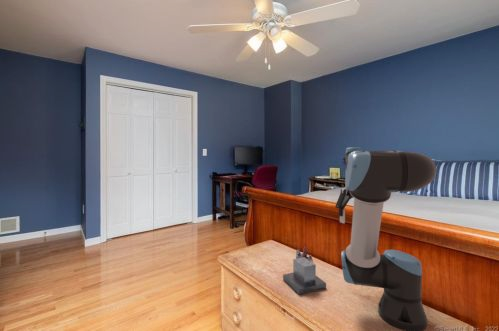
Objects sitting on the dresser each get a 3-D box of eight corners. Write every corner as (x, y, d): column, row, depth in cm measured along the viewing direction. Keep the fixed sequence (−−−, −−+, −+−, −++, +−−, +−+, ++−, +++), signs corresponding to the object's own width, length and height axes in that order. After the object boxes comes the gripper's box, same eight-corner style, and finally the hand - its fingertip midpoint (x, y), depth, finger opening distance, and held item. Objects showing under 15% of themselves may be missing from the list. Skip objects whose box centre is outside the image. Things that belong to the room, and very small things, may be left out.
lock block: (315, 282, 109) (315, 264, 109) (304, 284, 107) (304, 267, 107) (304, 273, 118) (304, 257, 117) (293, 275, 116) (293, 259, 115)
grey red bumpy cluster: (315, 267, 125) (301, 247, 127) (299, 276, 128) (286, 257, 131) (318, 259, 135) (305, 241, 137) (303, 267, 138) (291, 250, 141)
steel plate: (326, 288, 109) (326, 283, 109) (299, 295, 104) (299, 289, 104) (307, 274, 122) (307, 269, 122) (283, 279, 117) (283, 274, 117)
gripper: (366, 177, 128) (366, 217, 129) (327, 179, 119) (327, 221, 120) (378, 178, 121) (378, 220, 122) (338, 180, 112) (338, 225, 113)
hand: (353, 221), depth 121 cm, fingers open, 13 cm apart
